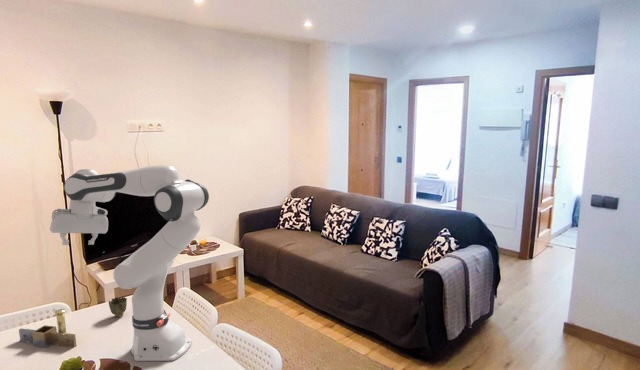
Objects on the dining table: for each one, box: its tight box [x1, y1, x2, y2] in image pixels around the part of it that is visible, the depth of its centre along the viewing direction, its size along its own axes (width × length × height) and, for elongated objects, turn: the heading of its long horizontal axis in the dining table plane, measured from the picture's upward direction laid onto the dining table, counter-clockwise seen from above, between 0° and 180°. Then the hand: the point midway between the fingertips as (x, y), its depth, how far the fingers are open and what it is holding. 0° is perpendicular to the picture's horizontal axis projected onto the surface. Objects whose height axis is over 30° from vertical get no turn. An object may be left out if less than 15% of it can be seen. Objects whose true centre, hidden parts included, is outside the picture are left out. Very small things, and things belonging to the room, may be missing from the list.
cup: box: [108, 296, 128, 319], centre depth 177 cm, size 8×7×8 cm
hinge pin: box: [54, 308, 67, 333], centre depth 163 cm, size 4×4×10 cm
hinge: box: [18, 324, 77, 349], centre depth 155 cm, size 26×6×6 cm, turn 80°
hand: (78, 244), depth 152 cm, fingers open, 8 cm apart
